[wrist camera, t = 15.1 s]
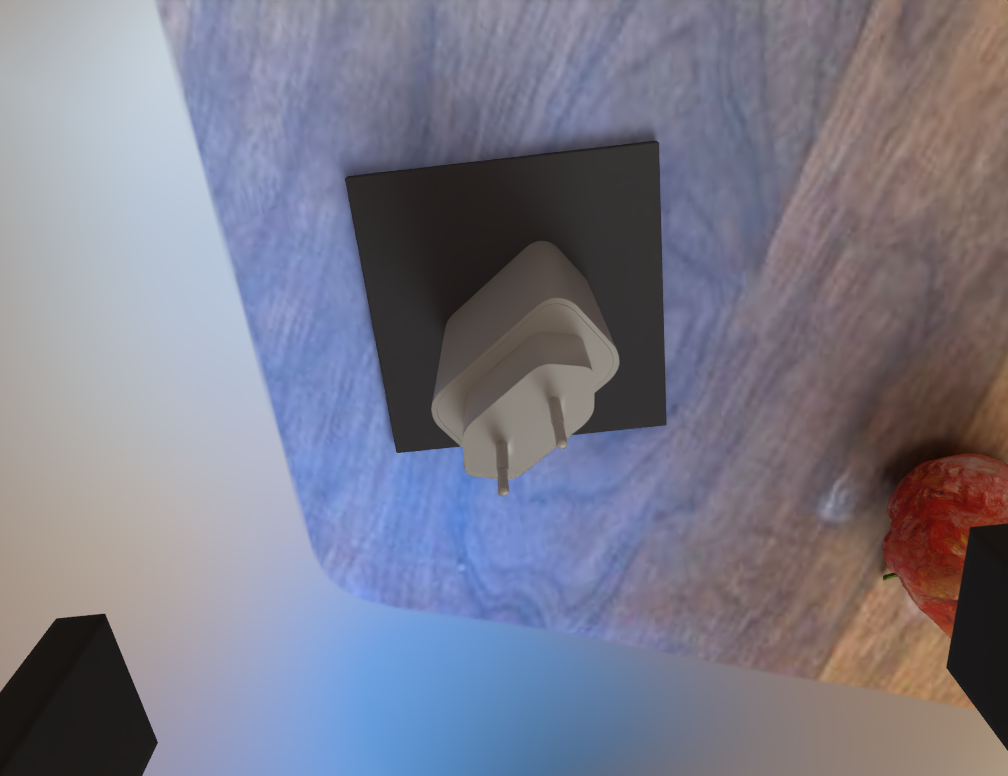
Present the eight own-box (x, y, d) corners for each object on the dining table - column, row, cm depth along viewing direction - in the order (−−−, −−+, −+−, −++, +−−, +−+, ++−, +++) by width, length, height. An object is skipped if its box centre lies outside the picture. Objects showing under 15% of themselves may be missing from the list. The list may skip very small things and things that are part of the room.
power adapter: (598, 292, 28) (666, 441, 17) (492, 384, 30) (493, 575, 19) (543, 231, 27) (577, 348, 16) (436, 329, 29) (402, 496, 18)
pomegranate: (949, 549, 36) (1181, 486, 28) (938, 697, 32) (1203, 675, 24) (825, 471, 36) (1027, 381, 27) (798, 613, 32) (1023, 560, 23)
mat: (346, 176, 27) (344, 177, 27) (656, 140, 27) (658, 141, 26) (397, 448, 31) (396, 453, 31) (664, 421, 31) (666, 425, 31)
